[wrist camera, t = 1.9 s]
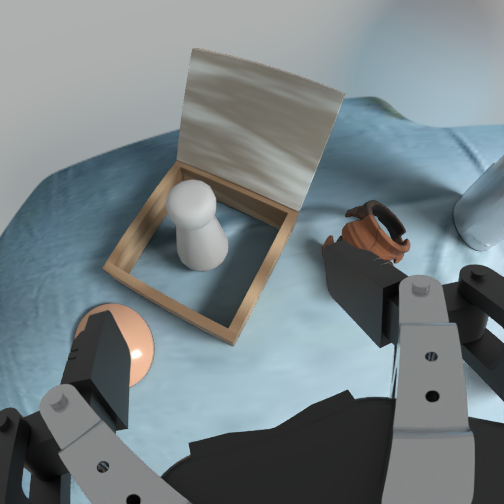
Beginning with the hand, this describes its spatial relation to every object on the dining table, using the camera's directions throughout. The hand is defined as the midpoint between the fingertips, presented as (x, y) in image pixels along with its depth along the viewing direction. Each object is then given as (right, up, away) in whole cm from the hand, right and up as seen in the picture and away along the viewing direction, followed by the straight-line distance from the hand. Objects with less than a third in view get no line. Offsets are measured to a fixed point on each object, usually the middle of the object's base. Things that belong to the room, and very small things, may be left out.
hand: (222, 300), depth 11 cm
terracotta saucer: (-15, -9, +22) cm, 28 cm away
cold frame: (-3, +4, +27) cm, 28 cm away
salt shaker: (-5, +1, +26) cm, 27 cm away
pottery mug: (+14, +1, +27) cm, 31 cm away
